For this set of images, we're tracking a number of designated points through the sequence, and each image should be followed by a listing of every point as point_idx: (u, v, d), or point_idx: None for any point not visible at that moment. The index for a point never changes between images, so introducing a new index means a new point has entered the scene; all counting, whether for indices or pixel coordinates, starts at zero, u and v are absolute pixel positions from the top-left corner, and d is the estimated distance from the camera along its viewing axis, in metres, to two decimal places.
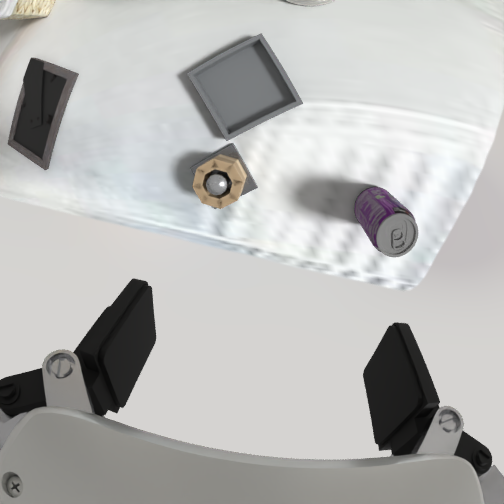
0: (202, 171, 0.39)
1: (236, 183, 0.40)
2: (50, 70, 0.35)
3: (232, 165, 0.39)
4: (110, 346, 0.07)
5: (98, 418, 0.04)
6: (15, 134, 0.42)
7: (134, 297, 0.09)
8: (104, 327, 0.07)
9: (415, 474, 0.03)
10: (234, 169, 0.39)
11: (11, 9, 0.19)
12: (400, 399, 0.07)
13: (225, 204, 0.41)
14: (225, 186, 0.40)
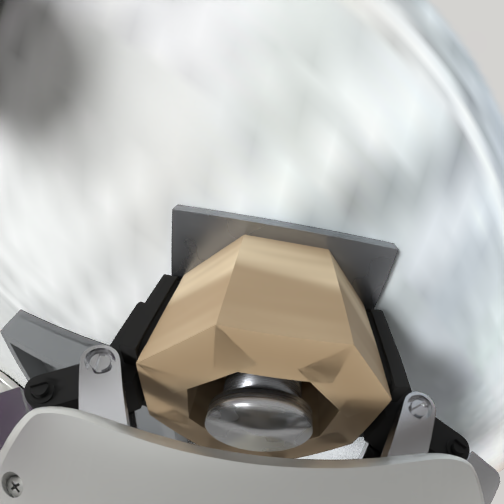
0: (273, 453, 0.08)
1: (170, 377, 0.07)
2: None
3: (153, 414, 0.08)
4: None
5: (98, 418, 0.04)
6: None
7: (168, 292, 0.09)
8: (143, 322, 0.08)
9: (415, 474, 0.03)
10: (152, 405, 0.08)
11: None
12: None
13: (306, 348, 0.06)
14: (221, 413, 0.06)
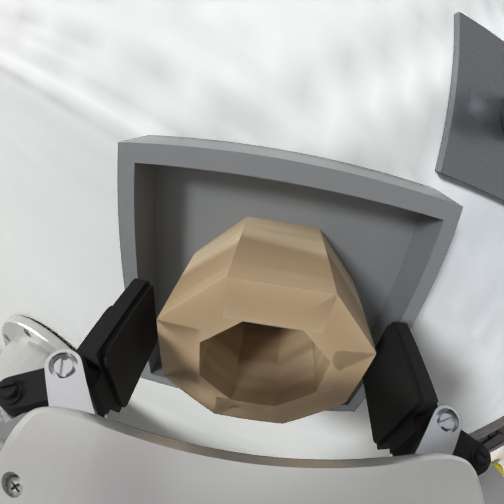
0: (274, 413, 0.10)
1: (185, 331, 0.08)
2: None
3: (167, 374, 0.10)
4: (113, 345, 0.07)
5: (98, 418, 0.04)
6: None
7: (136, 297, 0.09)
8: (106, 327, 0.07)
9: (415, 474, 0.03)
10: (166, 364, 0.09)
11: None
12: (398, 398, 0.07)
13: (298, 296, 0.07)
14: None
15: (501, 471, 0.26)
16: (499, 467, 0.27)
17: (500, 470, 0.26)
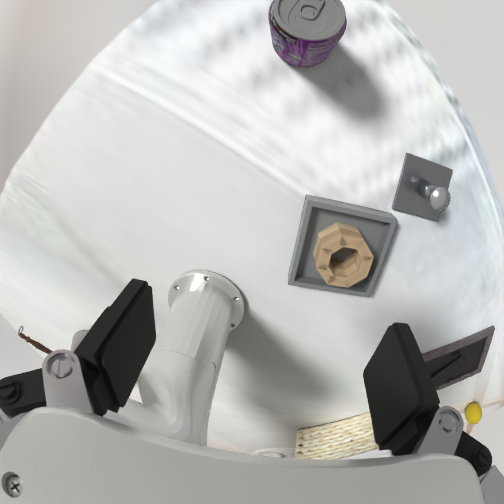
0: (346, 281, 0.36)
1: (328, 250, 0.34)
2: None
3: (317, 267, 0.35)
4: (110, 346, 0.07)
5: (98, 418, 0.04)
6: (472, 370, 0.49)
7: (134, 297, 0.09)
8: (104, 328, 0.07)
9: (415, 474, 0.03)
10: (319, 263, 0.35)
11: None
12: (400, 399, 0.07)
13: (356, 240, 0.33)
14: (436, 191, 0.28)
15: (479, 408, 0.51)
16: (477, 405, 0.53)
17: (478, 407, 0.52)
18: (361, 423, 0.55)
